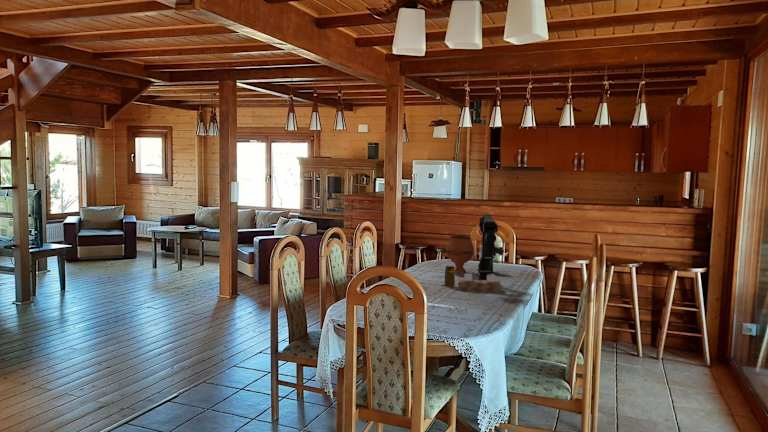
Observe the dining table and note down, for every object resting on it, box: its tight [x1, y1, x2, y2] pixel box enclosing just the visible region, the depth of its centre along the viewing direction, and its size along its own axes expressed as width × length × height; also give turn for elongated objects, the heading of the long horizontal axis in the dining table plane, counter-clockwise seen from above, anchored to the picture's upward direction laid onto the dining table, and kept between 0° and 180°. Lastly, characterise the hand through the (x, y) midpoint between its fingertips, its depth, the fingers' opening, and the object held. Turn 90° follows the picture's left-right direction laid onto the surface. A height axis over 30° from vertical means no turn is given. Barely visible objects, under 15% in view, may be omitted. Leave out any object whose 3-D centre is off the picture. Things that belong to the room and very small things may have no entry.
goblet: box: [445, 234, 475, 274], centre depth 395 cm, size 19×19×25 cm
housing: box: [457, 278, 501, 293], centre depth 338 cm, size 24×9×5 cm, turn 79°
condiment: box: [439, 265, 456, 288], centre depth 348 cm, size 7×8×12 cm
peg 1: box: [463, 272, 473, 282], centre depth 339 cm, size 4×4×4 cm
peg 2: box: [487, 274, 496, 283], centre depth 337 cm, size 4×4×4 cm
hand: (488, 269), depth 336 cm, fingers open, 9 cm apart
